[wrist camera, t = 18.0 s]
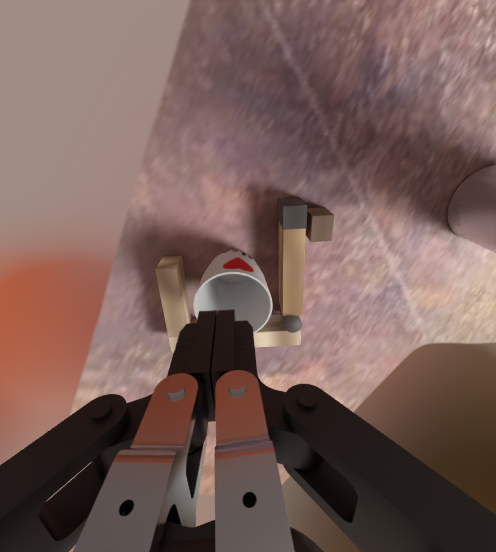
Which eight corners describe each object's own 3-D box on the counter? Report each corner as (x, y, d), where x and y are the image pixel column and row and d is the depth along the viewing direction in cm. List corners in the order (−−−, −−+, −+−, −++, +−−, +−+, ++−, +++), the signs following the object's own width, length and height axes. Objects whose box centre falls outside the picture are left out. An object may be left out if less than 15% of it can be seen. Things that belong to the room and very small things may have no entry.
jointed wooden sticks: (323, 206, 35) (333, 215, 32) (314, 326, 43) (321, 343, 40) (155, 214, 35) (145, 224, 31) (176, 333, 43) (171, 352, 39)
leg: (299, 197, 34) (308, 206, 30) (296, 311, 42) (303, 332, 37) (278, 198, 34) (284, 208, 30) (278, 312, 42) (283, 333, 37)
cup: (275, 263, 38) (288, 302, 29) (237, 303, 41) (238, 350, 32) (228, 225, 36) (226, 256, 27) (190, 271, 38) (177, 312, 29)
